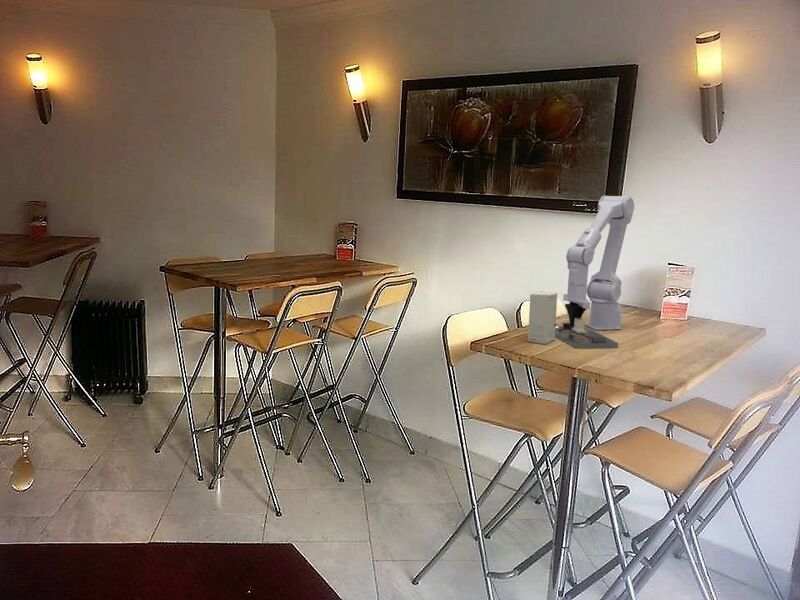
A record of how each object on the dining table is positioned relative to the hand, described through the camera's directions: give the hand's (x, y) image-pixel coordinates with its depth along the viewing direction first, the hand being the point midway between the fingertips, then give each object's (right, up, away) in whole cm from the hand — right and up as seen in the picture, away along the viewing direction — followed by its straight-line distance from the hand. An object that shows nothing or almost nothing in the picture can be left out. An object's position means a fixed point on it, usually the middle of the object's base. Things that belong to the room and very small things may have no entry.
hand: (574, 326), depth 190 cm
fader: (0, -1, -3) cm, 3 cm away
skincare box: (-13, -4, -9) cm, 16 cm away
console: (0, -4, -6) cm, 7 cm away
